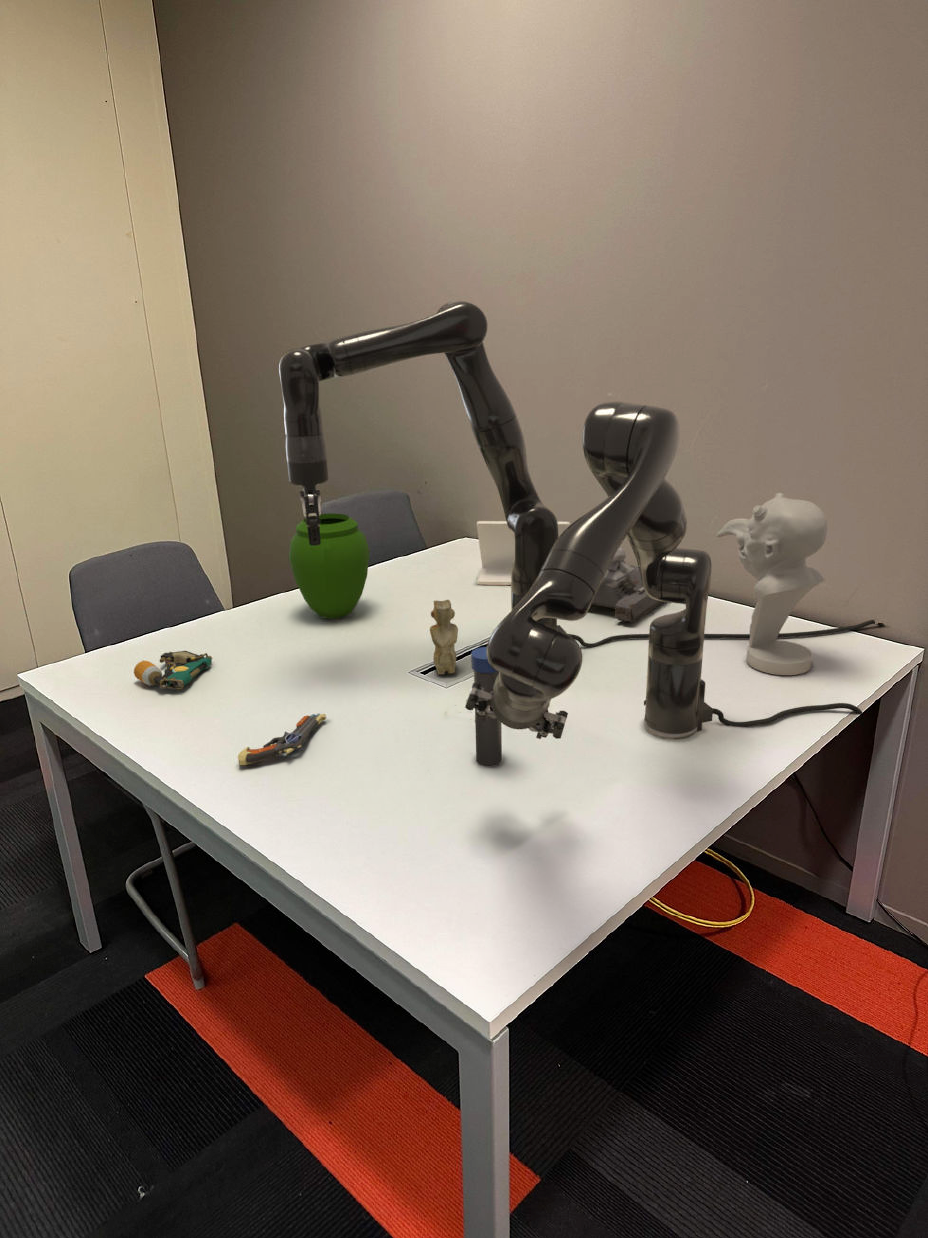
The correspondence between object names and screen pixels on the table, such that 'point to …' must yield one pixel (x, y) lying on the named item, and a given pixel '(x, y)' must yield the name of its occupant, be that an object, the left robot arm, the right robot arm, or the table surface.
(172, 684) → the spray gun
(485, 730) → the dark grey capped cylinder
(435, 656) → the sculpture
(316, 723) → the toy gun
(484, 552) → the tablet stand
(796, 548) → the bust sculpture
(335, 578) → the vase
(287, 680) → the table surface
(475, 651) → the lid
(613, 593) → the toy
